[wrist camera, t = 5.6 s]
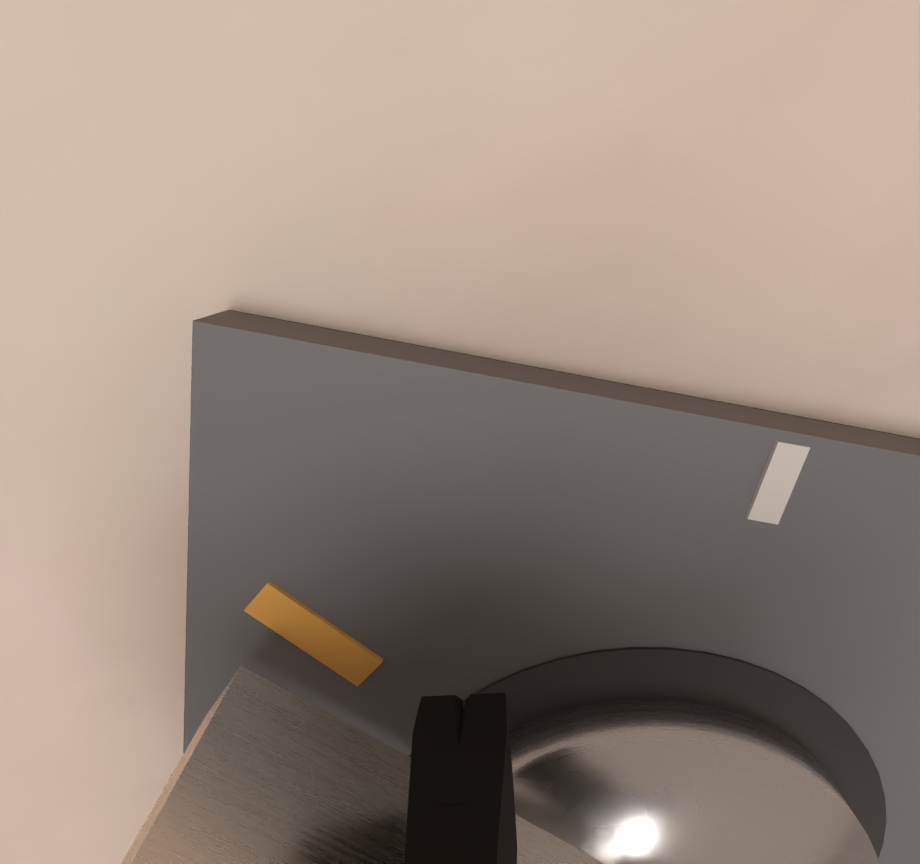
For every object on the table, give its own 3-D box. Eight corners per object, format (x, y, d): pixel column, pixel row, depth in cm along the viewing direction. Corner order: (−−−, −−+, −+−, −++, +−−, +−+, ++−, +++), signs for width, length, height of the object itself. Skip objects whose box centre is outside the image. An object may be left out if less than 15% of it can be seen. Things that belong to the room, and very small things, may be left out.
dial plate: (840, 1070, 19) (871, 1142, 18) (200, 973, 19) (175, 1037, 17) (1257, 502, 12) (1370, 540, 10) (228, 310, 11) (190, 321, 10)
